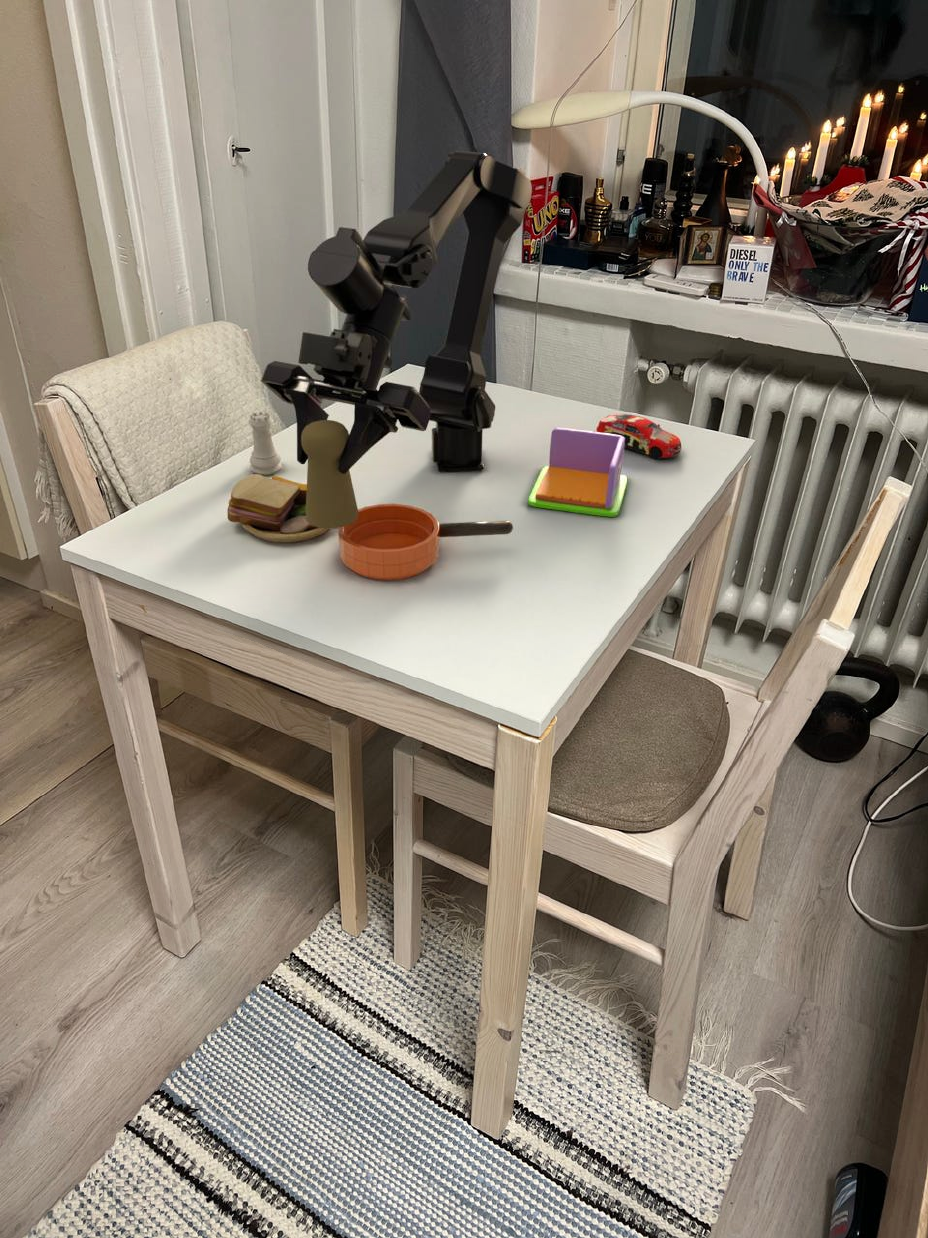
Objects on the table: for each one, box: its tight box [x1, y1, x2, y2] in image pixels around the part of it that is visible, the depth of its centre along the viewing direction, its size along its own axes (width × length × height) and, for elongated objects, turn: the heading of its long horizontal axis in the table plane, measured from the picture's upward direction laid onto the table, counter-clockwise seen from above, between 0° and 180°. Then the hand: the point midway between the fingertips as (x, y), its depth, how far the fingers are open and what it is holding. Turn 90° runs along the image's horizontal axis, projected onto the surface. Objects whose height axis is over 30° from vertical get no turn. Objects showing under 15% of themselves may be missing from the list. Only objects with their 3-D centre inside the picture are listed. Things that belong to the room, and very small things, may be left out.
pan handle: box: [432, 520, 514, 538], centre depth 108 cm, size 10×2×2 cm, turn 97°
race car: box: [596, 413, 682, 461], centre depth 135 cm, size 13×5×4 cm, turn 50°
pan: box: [338, 503, 440, 581], centre depth 108 cm, size 12×12×4 cm
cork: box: [301, 419, 359, 530], centre depth 101 cm, size 6×6×11 cm
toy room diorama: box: [527, 427, 628, 518], centre depth 121 cm, size 12×12×7 cm
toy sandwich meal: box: [226, 473, 329, 543], centre depth 114 cm, size 12×14×5 cm
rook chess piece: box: [248, 410, 283, 476], centre depth 126 cm, size 4×4×8 cm
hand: (320, 467), depth 99 cm, fingers closed on cork, 5 cm apart
